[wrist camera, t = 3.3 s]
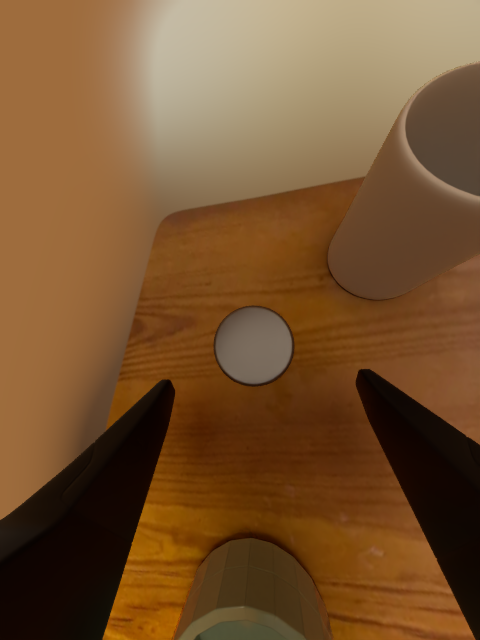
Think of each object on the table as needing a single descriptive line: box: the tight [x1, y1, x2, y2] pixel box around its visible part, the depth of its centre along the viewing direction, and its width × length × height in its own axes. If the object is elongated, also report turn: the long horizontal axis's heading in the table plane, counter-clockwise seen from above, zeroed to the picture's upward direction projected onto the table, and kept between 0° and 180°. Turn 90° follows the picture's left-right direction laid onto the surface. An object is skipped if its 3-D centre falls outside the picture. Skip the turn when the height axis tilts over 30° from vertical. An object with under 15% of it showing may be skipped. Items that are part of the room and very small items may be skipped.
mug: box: [328, 62, 480, 300], centre depth 14 cm, size 12×8×11 cm
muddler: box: [214, 306, 294, 387], centre depth 12 cm, size 4×4×12 cm
